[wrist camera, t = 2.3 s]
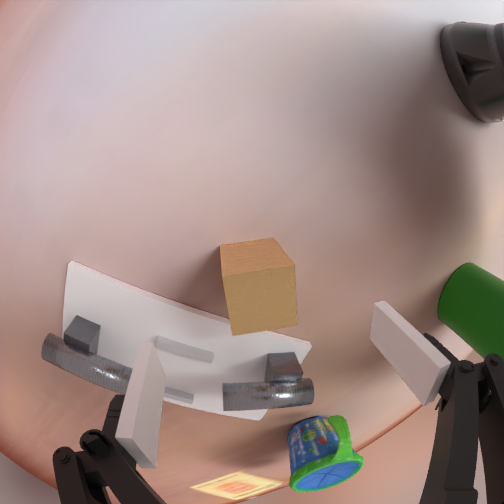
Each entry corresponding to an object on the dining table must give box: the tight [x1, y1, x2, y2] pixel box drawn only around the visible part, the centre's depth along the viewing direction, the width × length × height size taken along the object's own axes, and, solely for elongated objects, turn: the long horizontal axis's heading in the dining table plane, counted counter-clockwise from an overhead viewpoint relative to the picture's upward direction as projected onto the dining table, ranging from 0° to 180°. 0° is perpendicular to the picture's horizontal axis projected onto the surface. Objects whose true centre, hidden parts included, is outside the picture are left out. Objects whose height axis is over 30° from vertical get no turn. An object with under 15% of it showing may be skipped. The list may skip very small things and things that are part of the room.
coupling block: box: [220, 238, 297, 336], centre depth 23 cm, size 5×5×7 cm
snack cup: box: [288, 415, 364, 492], centre depth 31 cm, size 16×10×10 cm
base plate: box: [62, 260, 312, 421], centre depth 27 cm, size 14×27×2 cm, turn 66°
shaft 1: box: [42, 315, 133, 395], centre depth 23 cm, size 10×5×6 cm, turn 66°
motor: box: [438, 263, 504, 361], centre depth 22 cm, size 10×9×20 cm
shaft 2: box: [222, 352, 314, 411], centre depth 27 cm, size 9×5×6 cm, turn 86°
